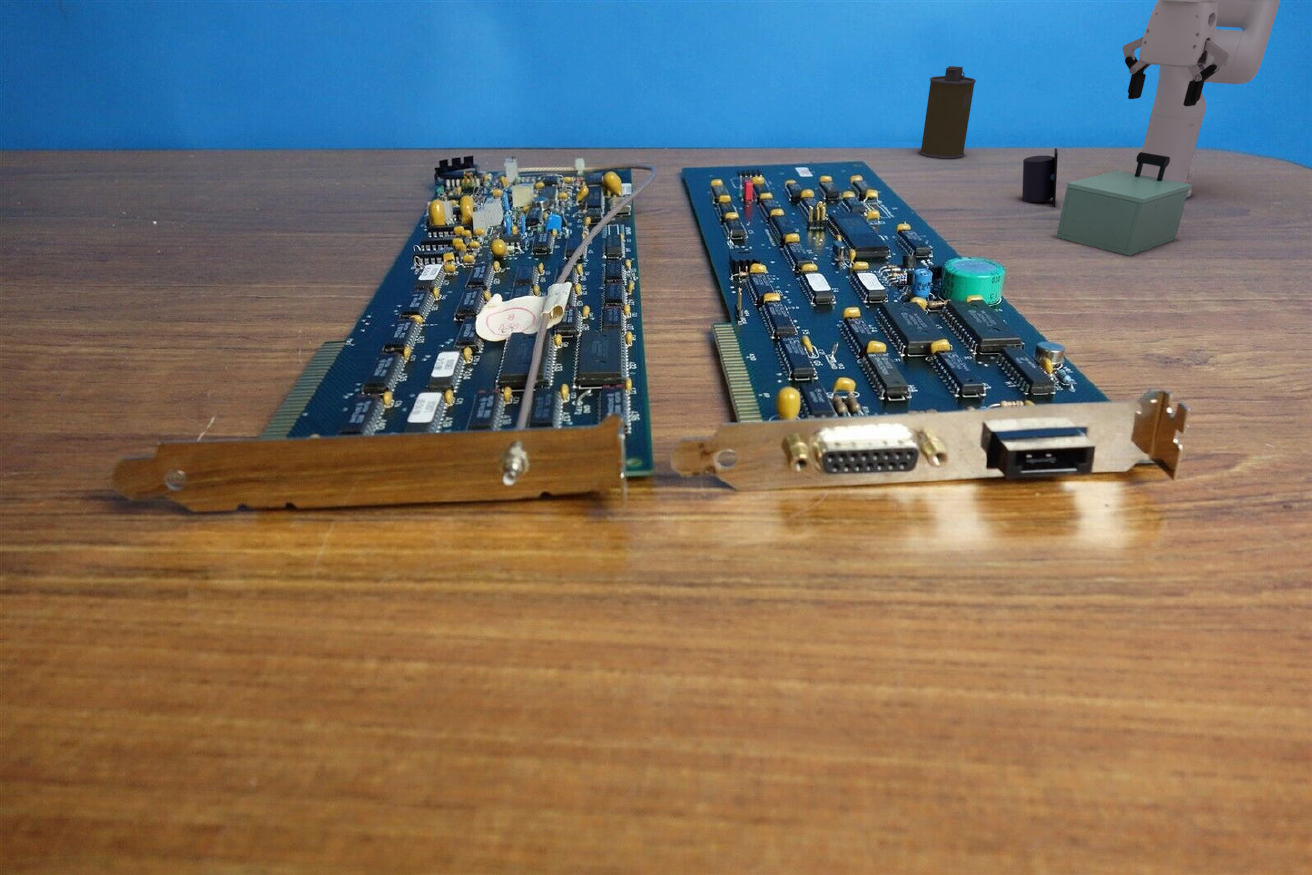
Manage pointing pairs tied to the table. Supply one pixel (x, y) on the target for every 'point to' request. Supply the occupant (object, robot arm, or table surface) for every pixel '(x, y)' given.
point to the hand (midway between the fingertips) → (1161, 102)
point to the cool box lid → (1133, 182)
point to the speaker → (1040, 178)
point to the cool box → (1119, 221)
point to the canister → (947, 114)
